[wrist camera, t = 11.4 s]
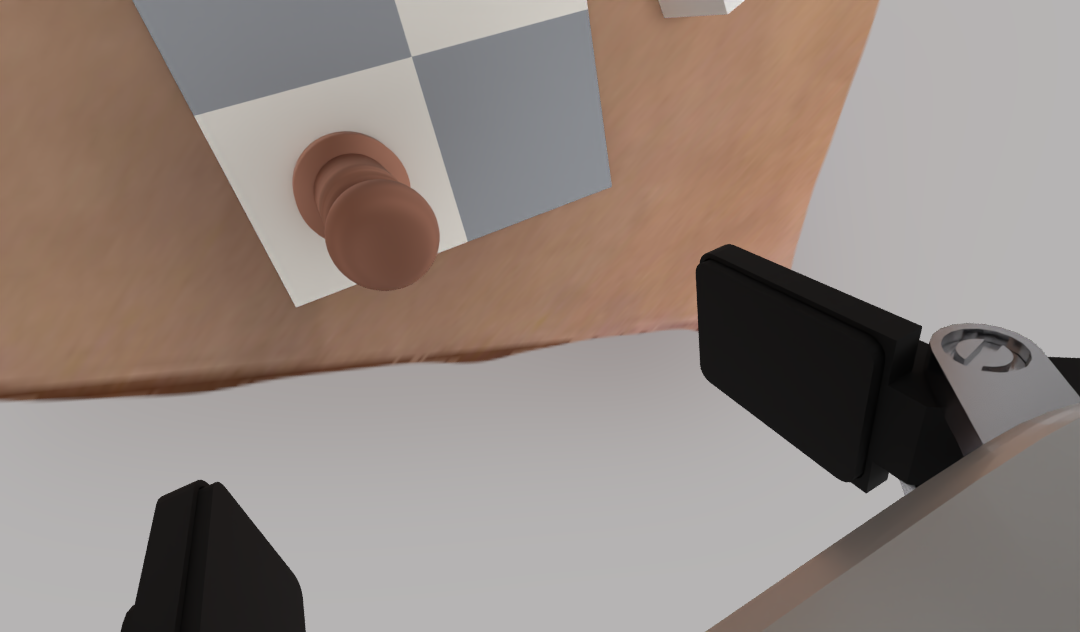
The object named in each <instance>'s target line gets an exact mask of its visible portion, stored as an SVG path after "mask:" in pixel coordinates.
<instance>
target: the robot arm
mask: <svg viewBox="0 0 1080 632" xmlns="http://www.w3.org/2000/svg"><path fill="white" fill-rule="evenodd" d="M696 288H697V308H698V329H699V348H700V366H701V370H702V373H703V375H704V376H705V378H706V379H707V380H708V381H709V382H710V383H712V384H713V385H714V386H716V387H717V388H718V389H719V390H721V391H722V392H724V393H725V394H726V395H728V396H729V397H730V398H731V399H733V400H734V401H735V402H737V403H738V404H739V405H741V406H742V407H743V408H745V409H746V410H747V411H749V412H750V413H751V414H753V415H754V416H755V417H757V418H758V419H759V420H761V421H762V422H763V423H765V424H766V425H767V426H768V427H770V428H771V429H773V430H774V431H775V432H777V433H778V434H779V435H780V436H782V437H783V438H784V439H786V440H787V441H788V442H790V443H791V444H792V445H794V446H795V447H796V448H798V449H799V450H800V451H802V452H803V453H804V454H806V455H807V456H808V457H810V458H811V459H812V460H813V461H815V462H816V463H817V464H819V465H820V466H821V467H823V468H824V469H826V470H827V471H828V472H830V473H831V474H832V475H833V476H835V477H836V478H838V479H839V480H841V481H844V482H851V483H853V484H854V485H855V486H857V487H858V488H859V489H861V490H862V491H864V492H865V493H868V492H869V491H871V490H872V489H874V488H875V487H877V486H878V485H880V484H881V483H883V482H884V481H886V480H887V478H888V474H889V473H891V474H892V475H894V476H895V477H897V478H898V479H899V480H900V483H901V485H902V488H903V491H904V494H905V496H904V497H902V498H901V499H899V500H898V501H896V502H895V503H893V504H892V505H890V506H889V507H888V508H886V509H885V510H883V511H882V512H880V513H879V514H877V515H876V516H874V517H873V518H872V519H870V520H868V521H867V522H865V523H864V524H863V525H861V526H860V527H858V528H857V529H855V530H854V531H852V532H851V533H849V534H848V535H846V536H845V537H843V538H842V539H840V540H839V541H838V542H836V543H834V544H833V545H832V546H830V547H829V548H827V549H826V550H824V551H823V552H821V553H820V554H818V555H817V556H815V557H814V558H812V559H811V560H809V561H808V562H806V563H805V564H804V565H802V566H801V567H799V568H798V569H796V570H795V571H793V572H792V573H791V574H789V575H788V576H786V577H785V578H783V579H782V580H780V581H779V582H778V583H776V584H774V585H773V586H771V587H770V588H769V589H767V590H766V591H764V592H763V593H761V594H760V595H758V596H757V597H756V598H754V599H753V600H751V601H750V602H748V603H747V604H745V605H744V606H742V607H741V608H739V609H738V610H736V611H735V612H734V613H732V614H731V615H729V616H728V617H726V618H725V619H724V620H722V621H720V622H719V623H718V624H716V625H715V626H713V627H712V628H710V629H709V630H707V631H706V632H1080V358H1060V357H1047V356H1046V355H1045V353H1044V352H1043V351H1042V350H1041V349H1040V348H1039V347H1038V346H1037V345H1036V344H1035V343H1033V342H1032V341H1031V340H1030V339H1027V338H1026V337H1024V336H1022V335H1020V334H1018V333H1016V332H1013V331H1010V330H1007V329H1004V328H1001V327H996V326H991V325H986V324H971V323H964V324H954V325H950V326H947V327H944V328H941V329H939V330H938V331H936V332H935V333H934V334H933V335H932V337H931V339H930V342H929V344H927V343H924V342H923V341H920V340H919V338H920V334H921V329H922V326H920V325H918V324H916V323H913V322H911V321H909V320H906V319H904V318H902V317H899V316H897V315H894V314H892V313H890V312H888V311H885V310H883V309H881V308H878V307H876V306H874V305H871V304H869V303H867V302H864V301H862V300H860V299H857V298H855V297H853V296H851V295H848V294H846V293H843V292H841V291H839V290H837V289H834V288H832V287H830V286H827V285H825V284H823V283H820V282H818V281H816V280H813V279H811V278H809V277H806V276H804V275H802V274H799V273H797V272H795V271H792V270H790V269H788V268H786V267H783V266H781V265H779V264H776V263H774V262H772V261H769V260H767V259H765V258H762V257H760V256H758V255H755V254H753V253H751V252H748V251H746V250H744V249H741V248H739V247H737V246H734V245H731V244H727V245H724V246H721V247H719V248H717V249H715V250H713V251H710V252H708V253H706V254H704V255H703V256H702V257H701V259H700V264H699V265H698V266H697V268H696ZM121 632H306V630H305V618H304V607H303V597H302V591H301V588H300V585H299V582H298V580H297V578H296V577H295V575H294V574H293V572H292V571H291V570H290V568H289V567H288V566H287V565H286V563H285V562H284V561H283V560H282V559H281V557H280V556H279V555H278V553H277V552H276V551H275V550H274V548H273V547H272V546H271V545H270V543H269V542H268V541H267V540H266V538H265V537H264V536H263V534H262V533H261V532H260V531H259V529H258V528H257V527H256V526H255V524H254V523H253V522H252V520H251V519H250V518H249V517H248V516H247V514H246V513H245V512H244V510H243V509H242V508H241V507H240V505H239V504H238V503H237V502H236V500H235V499H234V498H233V497H232V495H231V494H230V493H229V492H228V490H227V489H226V488H225V487H224V486H223V485H222V484H221V483H220V482H215V483H213V484H211V485H209V484H208V483H207V482H205V481H203V480H197V481H195V482H193V483H191V484H188V485H186V486H184V487H182V488H179V489H177V490H175V491H173V492H171V493H168V494H166V495H164V496H162V497H160V498H159V499H158V501H157V504H156V508H155V513H154V517H153V522H152V527H151V531H150V536H149V541H148V545H147V551H146V555H145V559H144V564H143V569H142V573H141V578H140V583H139V588H138V592H137V597H136V601H135V605H133V606H132V607H131V608H130V610H129V611H128V612H127V613H126V616H125V619H124V622H123V624H122V629H121Z"/></svg>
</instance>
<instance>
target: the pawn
mask: <svg viewBox="0 0 1080 632" xmlns="http://www.w3.org/2000/svg"><path fill="white" fill-rule="evenodd" d="M292 186H293V193H294V197H295V201H296V205H297V207H298V210H299V212H300V214H301V216H302V218H303V219H304V221H305V222H306V223H307V225H308V226H309V227H310V228H311V229H312V230H313V231H314V232H316V233H317V234H318V235H319V236H321V237H323V238H324V239H325V242H326V247H327V250H328V253H329V255H330V257H331V259H332V261H333V263H334V264H335V266H336V267H337V268H338V270H339V271H340V272H341V273H342V274H343V275H345V276H346V277H347V278H348V279H350V280H351V281H353V282H354V283H356V284H358V285H360V286H363V287H365V288H369V289H373V290H379V291H389V290H396V289H401V288H404V287H406V286H408V285H411V284H413V283H414V282H416V281H417V280H419V279H420V278H421V277H422V276H423V275H424V274H425V273H426V272H427V271H428V270H429V269H430V267H431V266H432V264H433V262H434V260H435V258H436V256H437V252H438V249H439V242H440V232H439V226H438V222H437V219H436V216H435V214H434V212H433V210H432V208H431V207H430V205H429V204H428V203H427V201H426V200H425V199H424V198H423V197H422V196H421V195H420V194H419V193H418V192H416V191H415V190H414V189H412V188H411V186H410V181H409V177H408V174H407V172H406V169H405V167H404V166H403V164H402V162H401V161H400V160H399V158H398V157H397V156H396V155H395V154H394V153H393V152H392V151H391V150H390V149H389V148H387V147H386V146H385V145H384V144H382V143H381V142H380V141H378V140H376V139H375V138H373V137H370V136H368V135H365V134H362V133H358V132H352V131H341V132H334V133H330V134H327V135H324V136H322V137H320V138H318V139H316V140H315V141H313V142H312V143H311V144H310V145H309V146H308V147H307V148H306V149H305V150H304V151H303V152H302V154H301V155H300V157H299V158H298V160H297V162H296V165H295V168H294V172H293V180H292Z"/></svg>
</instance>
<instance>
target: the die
mask: <svg viewBox="0 0 1080 632" xmlns="http://www.w3.org/2000/svg"><path fill="white" fill-rule="evenodd" d="M658 1H659V4H660V7H661V10H662V13H663V16H664V18H674V17H691V16H707V15H723V14H729V13H730V12H731V11H732V10H733V9H735V8H736V7H737V6H738V5H740V4H741V3H742V2H743V1H744V0H658Z"/></svg>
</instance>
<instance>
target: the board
mask: <svg viewBox="0 0 1080 632" xmlns="http://www.w3.org/2000/svg"><path fill="white" fill-rule="evenodd" d="M133 2H134V4H135V6H136V8H137V10H138V12H139V14H140V15H141V17H142V19H143V21H144V23H145V25H146V27H147V29H148V30H149V32H150V34H151V36H152V38H153V40H154V42H155V44H156V45H157V47H158V49H159V51H160V53H161V55H162V57H163V59H164V60H165V62H166V64H167V66H168V68H169V70H170V72H171V74H172V75H173V77H174V79H175V81H176V83H177V85H178V87H179V89H180V90H181V92H182V94H183V96H184V98H185V100H186V102H187V104H188V106H189V107H190V109H191V111H192V113H193V115H194V117H195V119H196V121H197V122H198V124H199V126H200V128H201V130H202V132H203V134H204V136H205V137H206V139H207V141H208V143H209V145H210V147H211V149H212V151H213V152H214V154H215V156H216V158H217V160H218V162H219V164H220V166H221V167H222V169H223V171H224V173H225V175H226V177H227V179H228V181H229V182H230V184H231V186H232V188H233V190H234V192H235V194H236V196H237V197H238V199H239V201H240V203H241V205H242V207H243V209H244V211H245V212H246V214H247V216H248V218H249V220H250V222H251V224H252V226H253V227H254V229H255V231H256V233H257V235H258V237H259V239H260V241H261V242H262V244H263V246H264V248H265V250H266V252H267V254H268V256H269V257H270V259H271V261H272V263H273V265H274V267H275V269H276V271H277V272H278V274H279V276H280V278H281V280H282V282H283V284H284V286H285V287H286V289H287V291H288V293H289V295H290V297H291V299H292V301H293V303H294V304H295V306H296V307H299V306H301V305H304V304H307V303H309V302H312V301H314V300H317V299H320V298H322V297H325V296H327V295H330V294H333V293H335V292H338V291H340V290H343V289H346V288H348V287H351V286H354V285H356V283H354V282H353V281H351V280H350V279H348V278H347V277H346V276H345V275H343V274H342V273H341V272H340V271H339V270H338V268H337V267H336V266H335V264H334V263H333V261H332V259H331V257H330V255H329V253H328V250H327V247H326V242H325V239H324V238H323V237H321V236H319V235H318V234H317V233H316V232H314V231H313V230H312V229H311V228H310V227H309V226H308V225H307V223H306V222H305V221H304V219H303V218H302V216H301V214H300V212H299V210H298V207H297V205H296V201H295V197H294V193H293V186H292V180H293V172H294V168H295V165H296V162H297V160H298V158H299V157H300V155H301V154H302V152H303V151H304V150H305V149H306V148H307V147H308V146H309V145H310V144H311V143H312V142H313V141H315V140H316V139H318V138H320V137H322V136H324V135H327V134H330V133H334V132H341V131H352V132H358V133H362V134H365V135H368V136H370V137H373V138H375V139H376V140H378V141H380V142H381V143H382V144H384V145H385V146H386V147H387V148H389V149H390V150H391V151H392V152H393V153H394V154H395V155H396V156H397V157H398V158H399V160H400V161H401V162H402V164H403V166H404V167H405V169H406V172H407V174H408V177H409V181H410V186H411V188H412V189H414V190H415V191H416V192H418V193H419V194H420V195H421V196H422V197H423V198H424V199H425V200H426V201H427V203H428V204H429V205H430V207H431V208H432V210H433V212H434V214H435V216H436V219H437V222H438V226H439V232H440V242H439V249H438V252H437V253H440V252H442V251H445V250H448V249H450V248H453V247H455V246H458V245H461V244H463V243H466V242H469V241H471V240H474V239H476V238H479V237H482V236H484V235H487V234H489V233H492V232H495V231H497V230H500V229H502V228H505V227H508V226H510V225H513V224H516V223H518V222H521V221H523V220H526V219H529V218H531V217H534V216H536V215H539V214H542V213H544V212H547V211H550V210H552V209H555V208H557V207H560V206H563V205H565V204H568V203H570V202H573V201H576V200H578V199H581V198H583V197H586V196H589V195H591V194H594V193H597V192H599V191H602V190H604V189H607V188H610V187H612V184H611V177H610V169H609V162H608V154H607V147H606V140H605V132H604V125H603V117H602V110H601V103H600V95H599V88H598V80H597V73H596V65H595V58H594V51H593V43H592V36H591V28H590V21H589V14H588V6H587V0H133Z"/></svg>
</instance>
